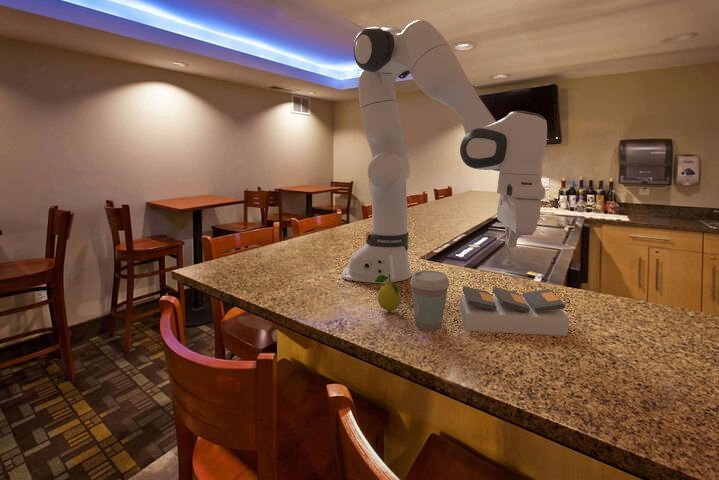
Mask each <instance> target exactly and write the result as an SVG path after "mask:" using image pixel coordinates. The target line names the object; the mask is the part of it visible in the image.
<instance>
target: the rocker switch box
mask: <svg viewBox="0 0 719 480" xmlns="http://www.w3.org/2000/svg"><path fill="white" fill-rule="evenodd" d="M491 297H492V299H493V301H494V303H495V305H496V306H497V307H496V310H495V311H494V310H490V309H486V308H482V307H477V306H473V305H469V304H468V303H467V300H466V298H465V295H464V294H463V295H462V294H461V295H459V308H458V309H459V313H460V314H459V315H460V317H461V321H462V324H463V327H464V331H468V332H487V333H506V334H510V333H511V334H524V335H545V336H562V337H564V336H565V337H567V336H568V333H569V326H570V317H569V316H568V315H567V314H566V313H565V312H564V311H563V310H562V309H557V310H550V311H543V312H535V311H534V310H533V309H532V307H531V306H530V305H529V304H528V302H527V301H526V300H525V298H524V297H522V299H523V300H524V301H525V302H526V304H527V305H528V306H529V308H530V311H529V313H528V312H524V311H521V310H517V309H514V308H510V307H506V306H503V305H501V304H500V302H499V300H498V299H497V297H496V296H491Z"/></svg>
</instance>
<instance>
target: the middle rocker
mask: <svg viewBox="0 0 719 480" xmlns="http://www.w3.org/2000/svg"><path fill="white" fill-rule="evenodd" d="M492 292H493V294H494V295H495V297H497V299H498V300H499V302H500V304H501V305H503V306H506V307H510V308H514V309H517V310H521V311H524V312H528V313H529V311H530V308H529V306H528V305H527V304H526V302H525V301H524V300H523V299H522V298H523V296H521V295H520V293H518V292H515V291H511V290H507V289H504V288H501V287H496V286H493V287H492Z"/></svg>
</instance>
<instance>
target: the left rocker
mask: <svg viewBox="0 0 719 480" xmlns="http://www.w3.org/2000/svg"><path fill="white" fill-rule="evenodd" d="M462 292H463V295H465V298H466V300H467V303H468V304H469V305H473V306H477V307H482V308H486V309H490V310H494V311H495V310H496V307H497V306H496V305H495V303H494V301H493V299H492V297H493V296H492V295H491V294H490V293H489V291H487V290H482V289H478V288H474V287H470V286H464V285H463V286H462Z"/></svg>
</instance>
